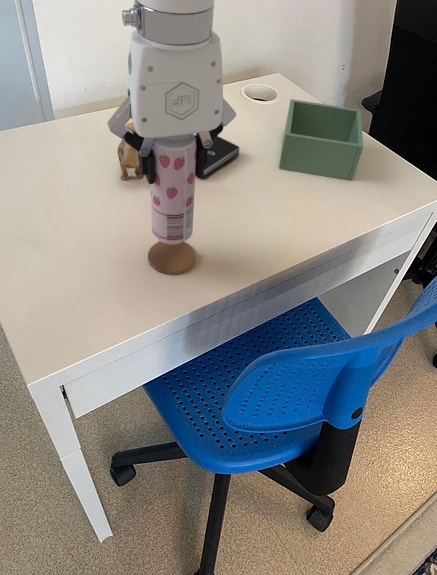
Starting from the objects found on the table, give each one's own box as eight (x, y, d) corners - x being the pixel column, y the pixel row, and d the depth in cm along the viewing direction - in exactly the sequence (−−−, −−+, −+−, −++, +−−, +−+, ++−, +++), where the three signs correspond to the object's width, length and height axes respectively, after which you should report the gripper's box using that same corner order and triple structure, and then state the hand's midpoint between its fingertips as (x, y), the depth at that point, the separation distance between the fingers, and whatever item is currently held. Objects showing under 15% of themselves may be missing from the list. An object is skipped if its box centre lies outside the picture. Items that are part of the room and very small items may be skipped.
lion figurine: (153, 190, 84) (152, 143, 77) (122, 192, 83) (118, 145, 76) (142, 143, 94) (140, 98, 87) (113, 145, 92) (110, 99, 86)
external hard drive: (173, 165, 90) (173, 155, 88) (211, 142, 96) (212, 132, 94) (203, 181, 87) (203, 171, 85) (240, 156, 93) (241, 146, 92)
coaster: (199, 246, 75) (199, 243, 75) (190, 278, 71) (190, 275, 70) (154, 238, 76) (154, 235, 75) (142, 270, 71) (142, 267, 71)
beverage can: (171, 214, 72) (172, 119, 61) (200, 232, 70) (207, 137, 59) (143, 231, 69) (139, 135, 58) (172, 251, 67) (173, 154, 56)
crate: (350, 142, 100) (360, 109, 95) (352, 180, 91) (363, 146, 86) (284, 131, 101) (290, 99, 96) (278, 168, 91) (285, 134, 86)
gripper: (95, 41, 44) (111, 202, 58) (268, 30, 49) (246, 181, 63) (80, 11, 49) (98, 167, 62) (240, 4, 54) (225, 149, 67)
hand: (173, 173), depth 62 cm, fingers closed on beverage can, 5 cm apart
